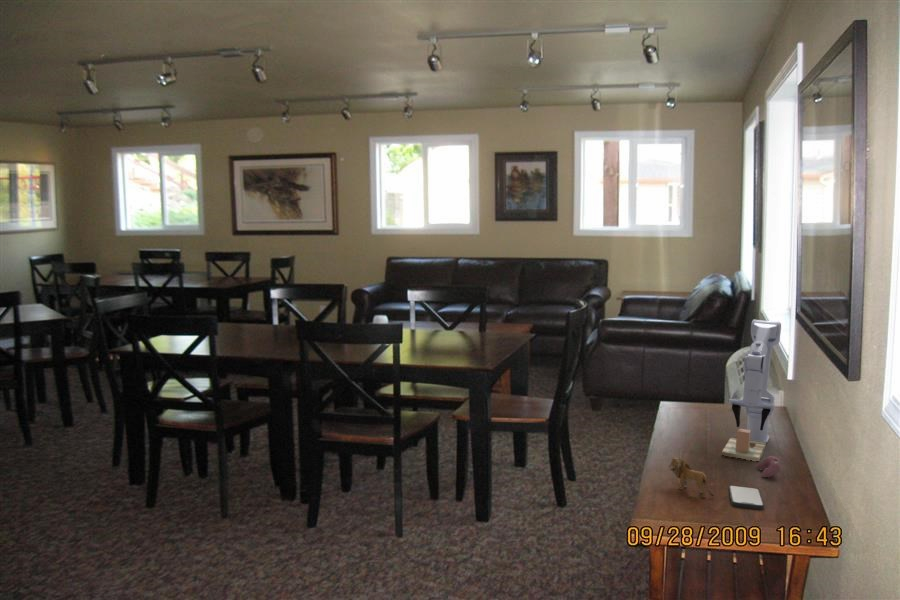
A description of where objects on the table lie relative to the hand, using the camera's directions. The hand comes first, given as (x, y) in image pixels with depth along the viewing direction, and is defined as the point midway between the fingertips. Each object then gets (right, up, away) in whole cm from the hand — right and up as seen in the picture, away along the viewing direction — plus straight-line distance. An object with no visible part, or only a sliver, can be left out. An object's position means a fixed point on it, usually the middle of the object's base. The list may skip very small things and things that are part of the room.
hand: (749, 428), depth 282 cm
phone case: (-17, -15, -43) cm, 48 cm away
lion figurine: (-32, -13, -38) cm, 51 cm away
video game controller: (-1, -12, -19) cm, 23 cm away
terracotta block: (-3, -8, 0) cm, 8 cm away
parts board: (0, -9, +4) cm, 10 cm away
